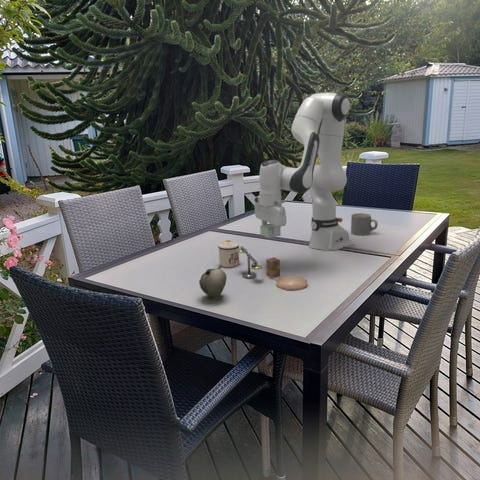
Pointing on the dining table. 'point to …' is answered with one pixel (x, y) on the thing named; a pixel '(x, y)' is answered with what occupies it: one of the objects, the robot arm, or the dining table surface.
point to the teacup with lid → (228, 253)
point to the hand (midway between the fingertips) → (270, 232)
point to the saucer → (291, 283)
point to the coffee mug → (362, 224)
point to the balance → (254, 265)
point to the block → (273, 267)
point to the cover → (269, 230)
